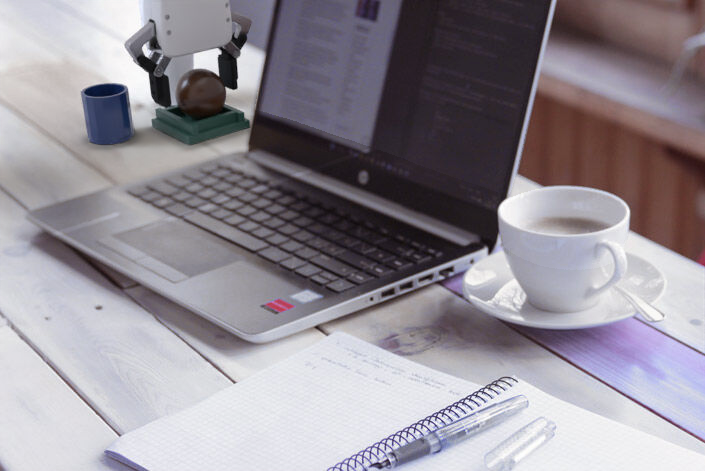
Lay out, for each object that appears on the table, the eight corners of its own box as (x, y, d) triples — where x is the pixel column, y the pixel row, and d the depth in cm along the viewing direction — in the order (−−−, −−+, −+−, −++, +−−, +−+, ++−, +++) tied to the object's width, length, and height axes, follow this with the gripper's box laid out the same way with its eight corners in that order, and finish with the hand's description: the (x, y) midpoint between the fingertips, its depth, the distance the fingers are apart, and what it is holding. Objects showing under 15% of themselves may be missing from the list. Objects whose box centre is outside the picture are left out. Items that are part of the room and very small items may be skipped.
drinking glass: (171, 112, 126) (158, -1, 119) (141, 101, 130) (126, -9, 123) (211, 99, 130) (201, -11, 124) (180, 89, 135) (168, -18, 128)
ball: (192, 128, 116) (191, 76, 114) (165, 116, 121) (164, 66, 119) (236, 121, 120) (236, 71, 118) (208, 110, 125) (208, 61, 122)
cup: (101, 148, 115) (94, 101, 113) (80, 136, 119) (72, 90, 116) (142, 136, 118) (136, 90, 116) (120, 125, 122) (114, 80, 120)
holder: (189, 145, 115) (187, 128, 114) (152, 126, 122) (149, 110, 121) (250, 127, 121) (249, 110, 120) (211, 109, 127) (209, 93, 126)
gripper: (227, -58, 119) (236, 74, 127) (100, -38, 109) (120, 104, 117) (262, -50, 114) (270, 87, 122) (132, -29, 104) (150, 120, 112)
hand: (196, 95), depth 119 cm, fingers open, 9 cm apart
